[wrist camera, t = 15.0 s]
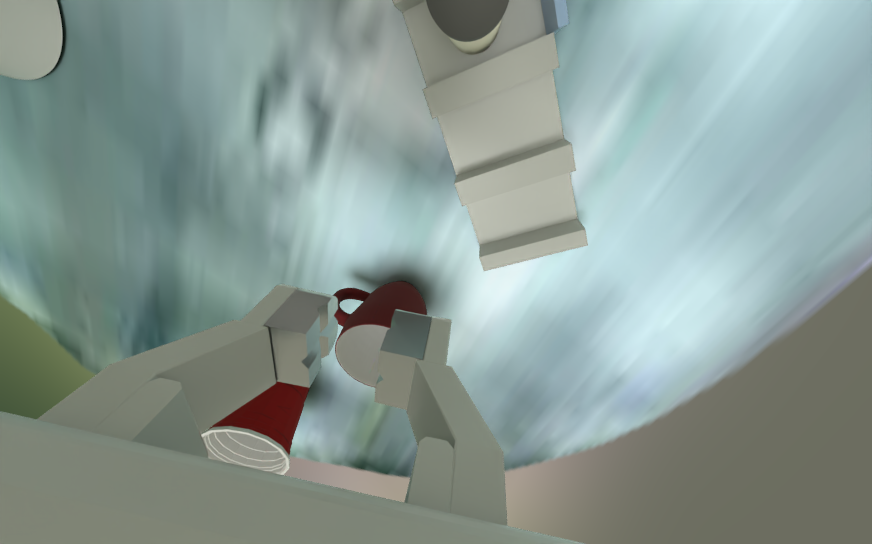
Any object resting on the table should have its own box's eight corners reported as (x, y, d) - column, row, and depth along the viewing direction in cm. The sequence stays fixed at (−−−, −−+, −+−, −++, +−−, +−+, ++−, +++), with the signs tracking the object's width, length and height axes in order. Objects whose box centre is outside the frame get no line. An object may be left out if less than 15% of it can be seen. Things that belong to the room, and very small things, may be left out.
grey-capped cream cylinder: (439, 4, 22) (411, -48, 13) (493, -24, 21) (499, -99, 12) (456, 65, 24) (441, 53, 15) (507, 42, 23) (522, 16, 14)
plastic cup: (320, 410, 50) (278, 494, 40) (254, 386, 49) (194, 465, 39) (336, 369, 45) (293, 453, 35) (262, 340, 44) (195, 418, 33)
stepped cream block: (398, -8, 23) (377, -32, 18) (532, -81, 20) (547, -131, 16) (483, 251, 33) (484, 279, 28) (582, 225, 30) (601, 251, 25)
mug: (344, 305, 39) (305, 368, 30) (352, 249, 35) (310, 303, 26) (427, 330, 39) (411, 398, 31) (445, 277, 35) (433, 339, 26)
